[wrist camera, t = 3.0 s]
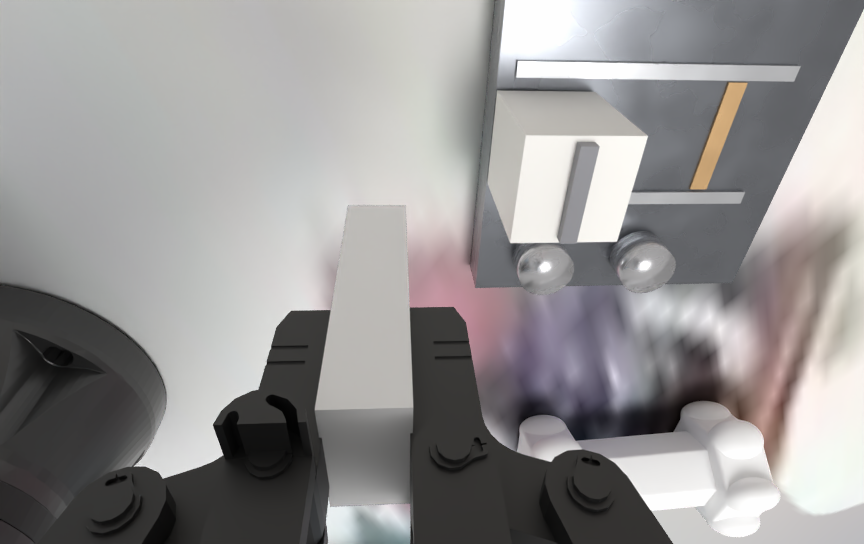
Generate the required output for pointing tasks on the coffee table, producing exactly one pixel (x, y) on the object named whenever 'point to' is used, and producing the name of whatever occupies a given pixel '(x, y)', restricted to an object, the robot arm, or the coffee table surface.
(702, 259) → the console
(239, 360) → the coffee table surface
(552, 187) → the block
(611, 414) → the coffee table surface
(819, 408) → the coffee table surface
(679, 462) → the bone shaped toy
